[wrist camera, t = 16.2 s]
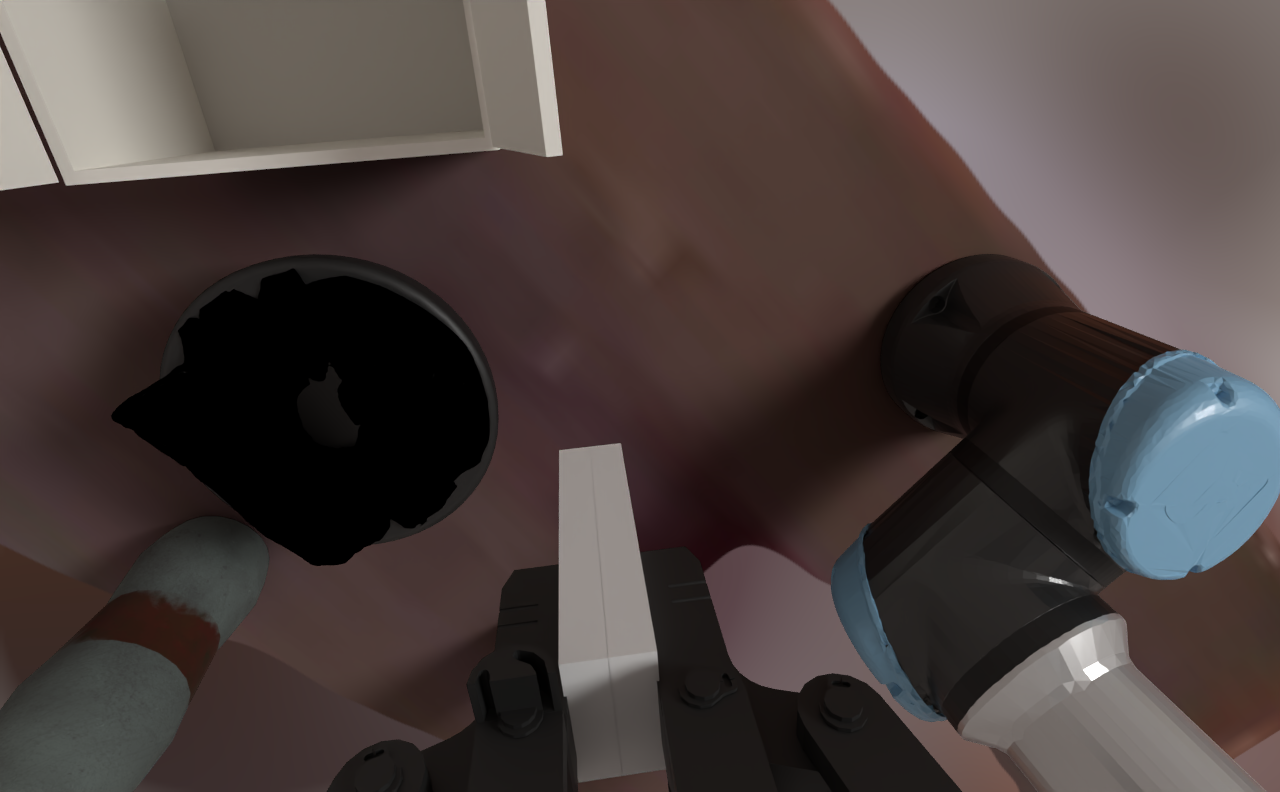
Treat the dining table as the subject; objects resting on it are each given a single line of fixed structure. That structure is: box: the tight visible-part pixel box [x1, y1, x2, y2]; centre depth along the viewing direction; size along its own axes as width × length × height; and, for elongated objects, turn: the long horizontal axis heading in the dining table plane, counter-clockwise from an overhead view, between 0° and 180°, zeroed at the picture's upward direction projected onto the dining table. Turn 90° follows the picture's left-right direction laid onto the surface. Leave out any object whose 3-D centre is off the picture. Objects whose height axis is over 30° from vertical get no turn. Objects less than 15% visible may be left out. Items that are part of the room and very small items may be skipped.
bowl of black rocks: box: [111, 254, 498, 566], centre depth 41 cm, size 20×20×19 cm
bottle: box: [0, 516, 269, 792], centre depth 41 cm, size 9×9×30 cm
